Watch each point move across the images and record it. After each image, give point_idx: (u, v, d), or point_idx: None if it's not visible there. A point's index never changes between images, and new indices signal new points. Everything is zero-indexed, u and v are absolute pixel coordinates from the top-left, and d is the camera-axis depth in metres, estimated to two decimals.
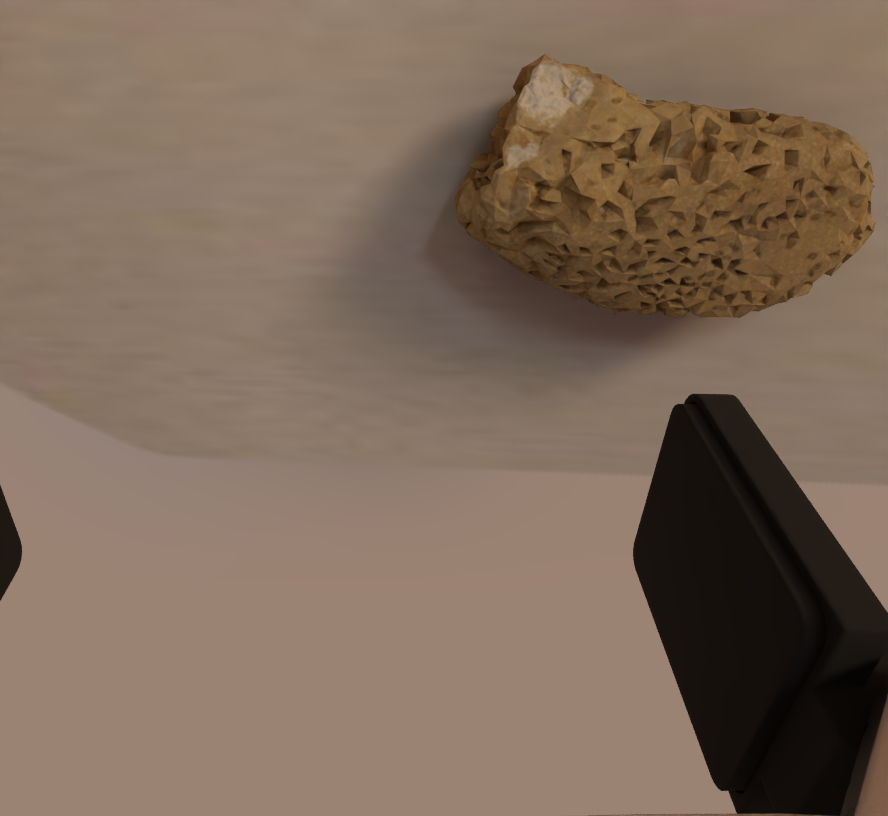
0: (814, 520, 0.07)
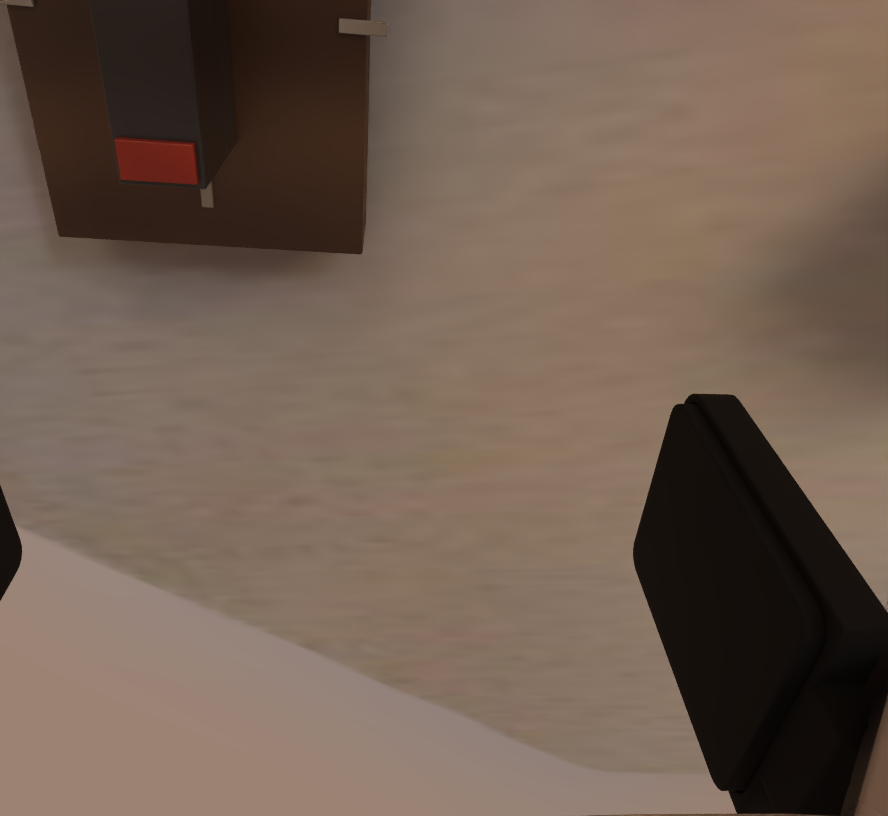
0: (814, 520, 0.07)
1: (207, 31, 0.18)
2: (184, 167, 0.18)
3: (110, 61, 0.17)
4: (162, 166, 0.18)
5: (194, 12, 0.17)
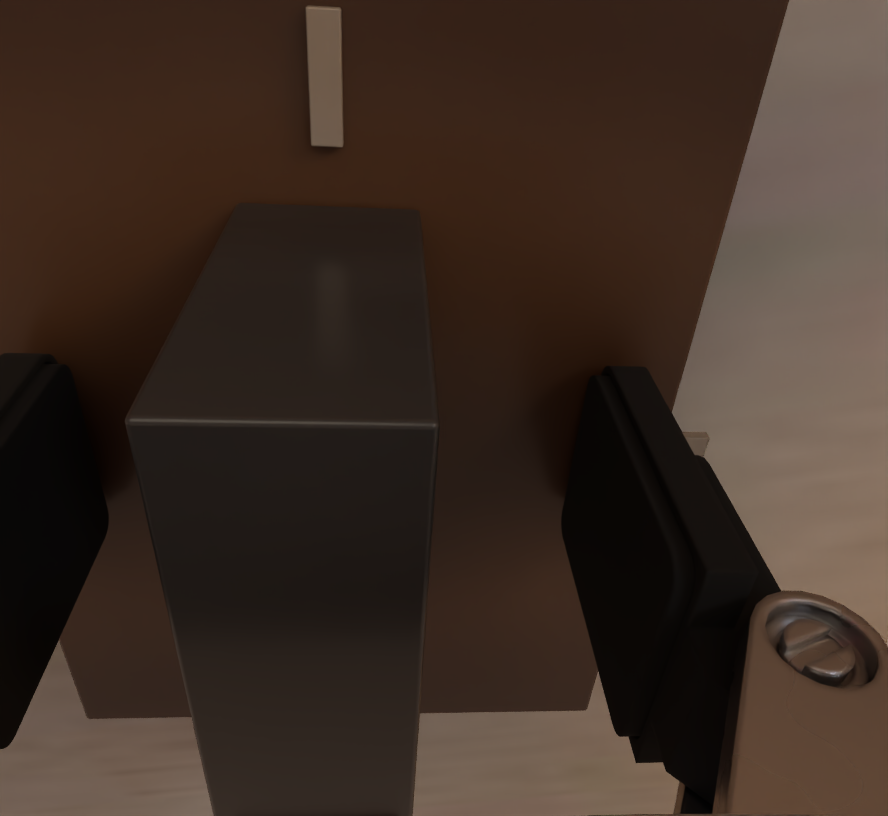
0: (698, 477, 0.08)
1: None
2: None
3: (227, 754, 0.07)
4: None
5: None
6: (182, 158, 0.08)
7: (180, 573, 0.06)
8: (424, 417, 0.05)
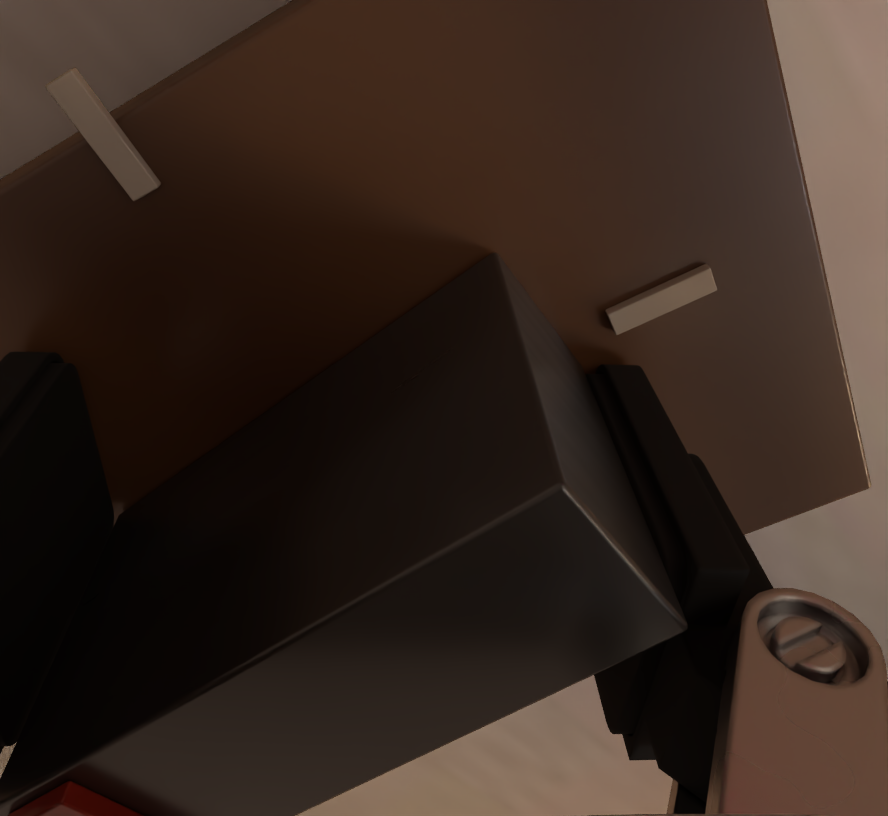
0: (691, 475, 0.08)
1: None
2: None
3: (205, 718, 0.07)
4: None
5: None
6: (545, 221, 0.09)
7: (418, 588, 0.06)
8: (684, 618, 0.06)
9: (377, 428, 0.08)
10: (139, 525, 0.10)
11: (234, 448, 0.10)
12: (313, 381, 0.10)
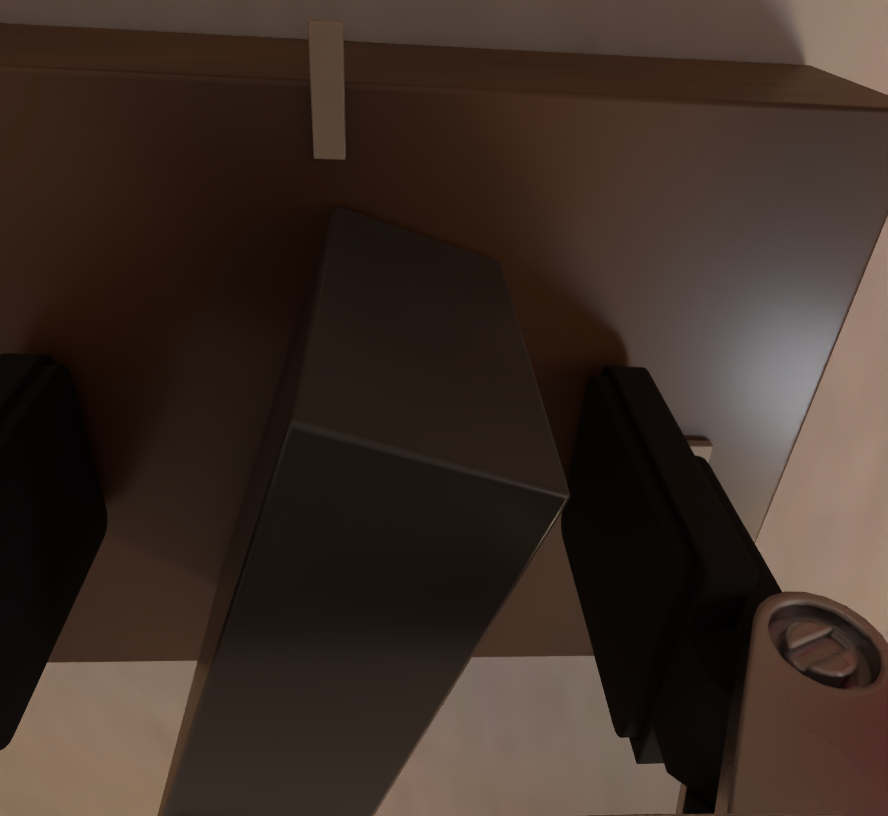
0: (699, 478, 0.08)
1: None
2: None
3: (214, 753, 0.07)
4: None
5: None
6: (623, 353, 0.10)
7: (265, 574, 0.06)
8: (559, 487, 0.06)
9: (270, 430, 0.08)
10: (217, 593, 0.11)
11: (245, 494, 0.11)
12: None
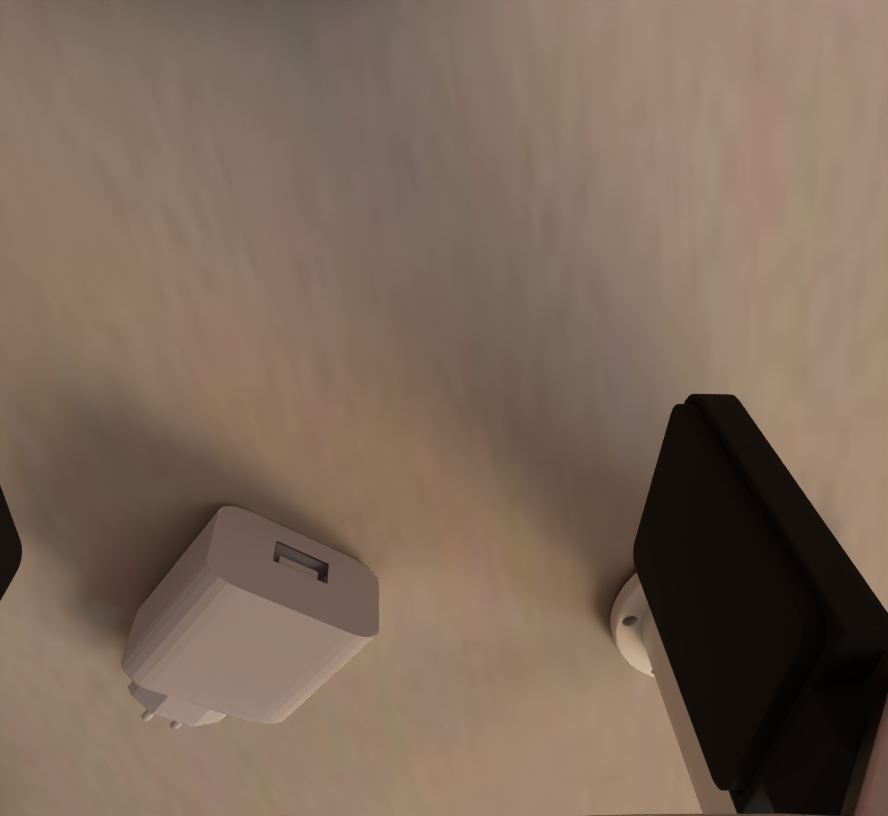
0: (814, 520, 0.07)
1: None
2: None
3: None
4: None
5: None
6: None
7: None
8: None
9: None
10: None
11: None
12: None
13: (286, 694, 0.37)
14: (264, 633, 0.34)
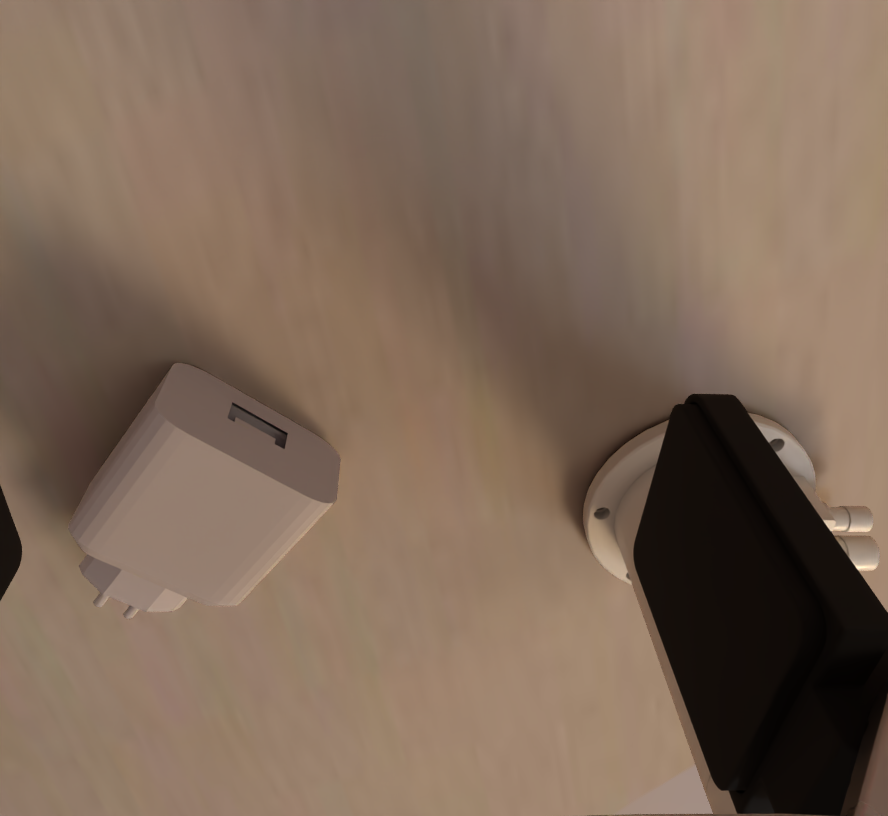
0: (814, 520, 0.07)
1: None
2: None
3: None
4: None
5: None
6: None
7: None
8: None
9: None
10: None
11: None
12: None
13: (239, 568, 0.36)
14: (215, 491, 0.33)
